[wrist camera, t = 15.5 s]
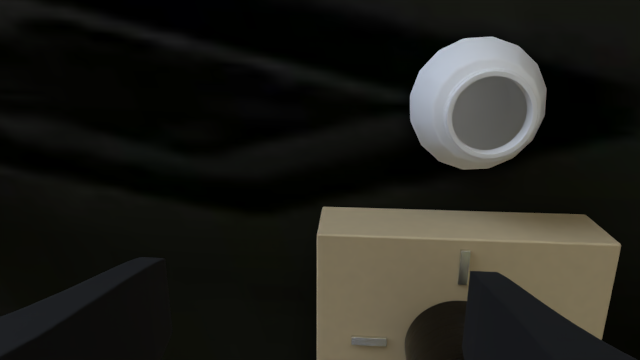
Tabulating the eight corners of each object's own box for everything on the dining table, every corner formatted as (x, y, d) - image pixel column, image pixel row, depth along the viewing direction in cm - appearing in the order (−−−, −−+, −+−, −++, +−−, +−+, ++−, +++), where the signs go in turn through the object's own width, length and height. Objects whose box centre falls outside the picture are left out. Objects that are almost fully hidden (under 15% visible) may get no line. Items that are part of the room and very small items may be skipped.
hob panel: (544, 441, 24) (571, 501, 21) (321, 427, 25) (316, 483, 22) (585, 213, 20) (624, 246, 17) (322, 205, 21) (315, 235, 18)
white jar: (382, 107, 20) (471, 187, 20) (386, 121, 17) (488, 213, 18) (475, 8, 18) (566, 97, 19) (496, 5, 15) (601, 110, 16)
